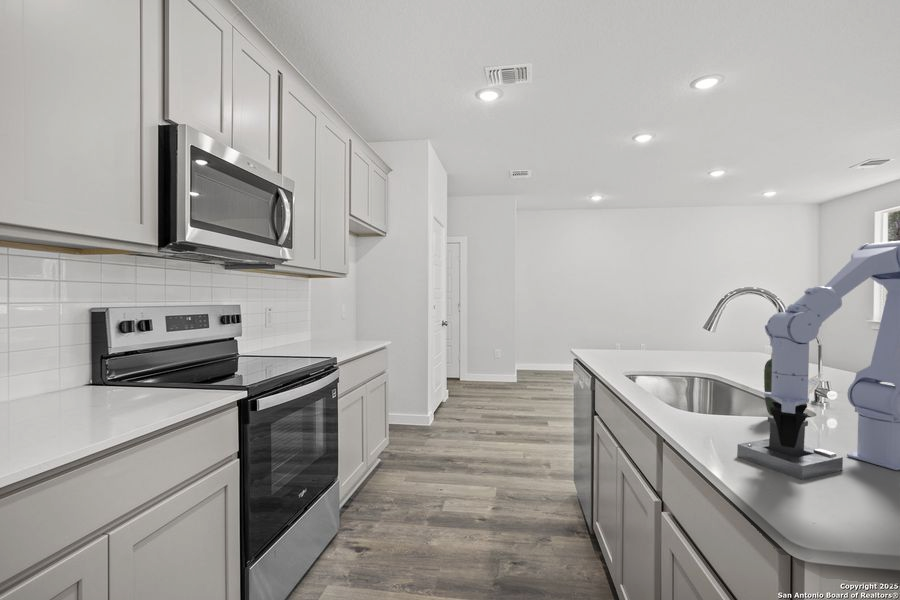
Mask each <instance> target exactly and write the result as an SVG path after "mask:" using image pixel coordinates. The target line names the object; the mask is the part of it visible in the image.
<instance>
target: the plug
mask: <svg viewBox="0 0 900 600" xmlns="http://www.w3.org/2000/svg"><path fill="white" fill-rule="evenodd" d="M767 422H768V423H769V438H768V439H769V450H772V451H775V452H778V453H781V454H785V455H788V456H791V457H794V458H795V457H799V456H802V455H804V446H805V438H806V436H805V435H806V427H808V426H809V420H808V419H807V420H806V419H805V421H804V422H803V424H802V425H801V428H800V431H799V434H798V439H797V443H796V446H795V448H791V447H785V446H781V444H780V440H779V435H778V429H777V425H776V422H775V419H774V417H773V416H771V415H769V416H767Z"/></svg>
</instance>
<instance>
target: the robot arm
mask: <svg viewBox="0 0 900 600" xmlns="http://www.w3.org/2000/svg"><path fill="white" fill-rule="evenodd" d="M868 279H871V280H873V281H874V282H876V283H877V284H879V285H881V286H883V287H884V289H885V290H886V291H887V294H886V299H885V301H884V306H883V310H882V311H883V312H882V315H881V319H880V322H879V327H878V332H877V336H876V340H875V345H874V350H873V353H872V358H871V362H870V364H869V365H868V366H867V367H864V368H862V369H860V370H859V371H857V372H856V373H855V377H854V380H853V382H852V383H851V384H850V386H849V387H848V389H847V395H846V396H847V400H848V402H849V403H850V405H851V406H852V407H854V412H855V413H856V414H857V413H858V415H857V446H856V447H857V450H856V451H853V452H849V453H846V456H847V457H850V458H852V459H855V460H856V459H857V460H859V461H863V462H867V463H870V464H873V465H877V466H880V467H884V468H887V469H890V470H894V471H899V470H900V240H894V241H884V242H873V243H872V242H867V243H864V244H862V245H860V246H859V248H857V250H855V251H854V252H852V253H851V257H850V260H849V261H848V262H847V263H846V264H845V265H844V266H843V267H842V268H841V269H840V270H839V271H838V272H837V273H836V274H835V275H834V276H833V277H832V278H831V279H830V280H829V281H828V282H827V283H826V284H825V285H824V286H819V285H818V286H814V287H808V288H807V289H805V291H804V294H803V295H802V296H801V297H800V298H799V299H797V301H795V302H793V304H792V303H791V304H789V305H788V306H787V307H786V309H785V311H783V312H782V311H780V312H776V313H775V314H773V315H772V316H771V317H769V319H768V321H767V324H765V325H764V330H765V333H766V336H768V338H769V340H770V341H769V343H770V346H771V348H772V349H771V351H772V352H771V355H772V389H771V392H765V391H764V392H763V396H764V398H765V397H770V398H772V399H774V400H773V401H772V403H773V405H774V407H771V408H770V412H771V414H772V416H773V417H774V419H775V422H776V425H777V429H778V435H779V440H780V444H781V446H785V447H791V448H795V446H796V443H797V439H798V434H799V431H800V428H801V425H802V424H803V422H804V421H805V420H806V419H807V418H808V417H809V416H808V413H807V412H806V413H805V411H806V410H807V408H808V403H810V397H809V371H810V370H809V368H810V367H809V364H810V342H812V341H814V340H815V339H816V338H817V337H818V334H819V330H820V327H822V324H823V323H824V322H825V321H826V320H827V319H828V318H830V317H831V316H832V315H834V313H835V312H837V311H838V310H839V309H840V308H842V305H843V300H842V299H843V297H845V296H846V295H847V294H848V293H850V292H852V291H853V290H854V289H856V288H857V287H858V286H859V285H862V283H864V282H865V281H867V280H868ZM886 383H890V384H892V385H890V384H886Z"/></svg>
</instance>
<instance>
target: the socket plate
mask: <svg viewBox="0 0 900 600" xmlns="http://www.w3.org/2000/svg"><path fill="white" fill-rule="evenodd" d="M736 455H737V458H740V459H743V460H747V461H749V462H752V463H755V464H757V465H761V466H764V467H766V468H769V469H772V470H774V471H777V472H780V473H782V474H785V475H788V476H791V477H794V478H797V479H800V480H803V481H804V480H806V479H811V478H815V477H820V476H824V474H825V475H827V474H828V473H829V474H832V472H833V473H837V472H841V471H843V464H844V463H843V462H844V460H843V458H844V457H843V456H840V455H838V454H837V453H836V452H832V451H830V450H826V449H822V448H813V447H810V446H808V445H807V446H806V445H804V455H802V456H799V457H795V458H794V457H791V456H788V455H785V454H781V453H778V452H775V451H772V450H769V438H765V439H760V440H755V441H749V442H743V443H738V444H737V453H736ZM840 470H841V471H840ZM836 471H837V472H836Z"/></svg>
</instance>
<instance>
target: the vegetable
mask: <svg viewBox="0 0 900 600" xmlns="http://www.w3.org/2000/svg"><path fill="white" fill-rule="evenodd" d="M763 372H764V374H763V384H764V392H771V389H772V354H771V357H770V359H768V360H766V363H765V365H764V369H763ZM773 400H774V399H772V398H770V397H765V396H764V402H765V405H766V411H767V413H768V414H769V416H772V414H771V412H770V408H771V407H774V405H773V403H772V401H773Z"/></svg>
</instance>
